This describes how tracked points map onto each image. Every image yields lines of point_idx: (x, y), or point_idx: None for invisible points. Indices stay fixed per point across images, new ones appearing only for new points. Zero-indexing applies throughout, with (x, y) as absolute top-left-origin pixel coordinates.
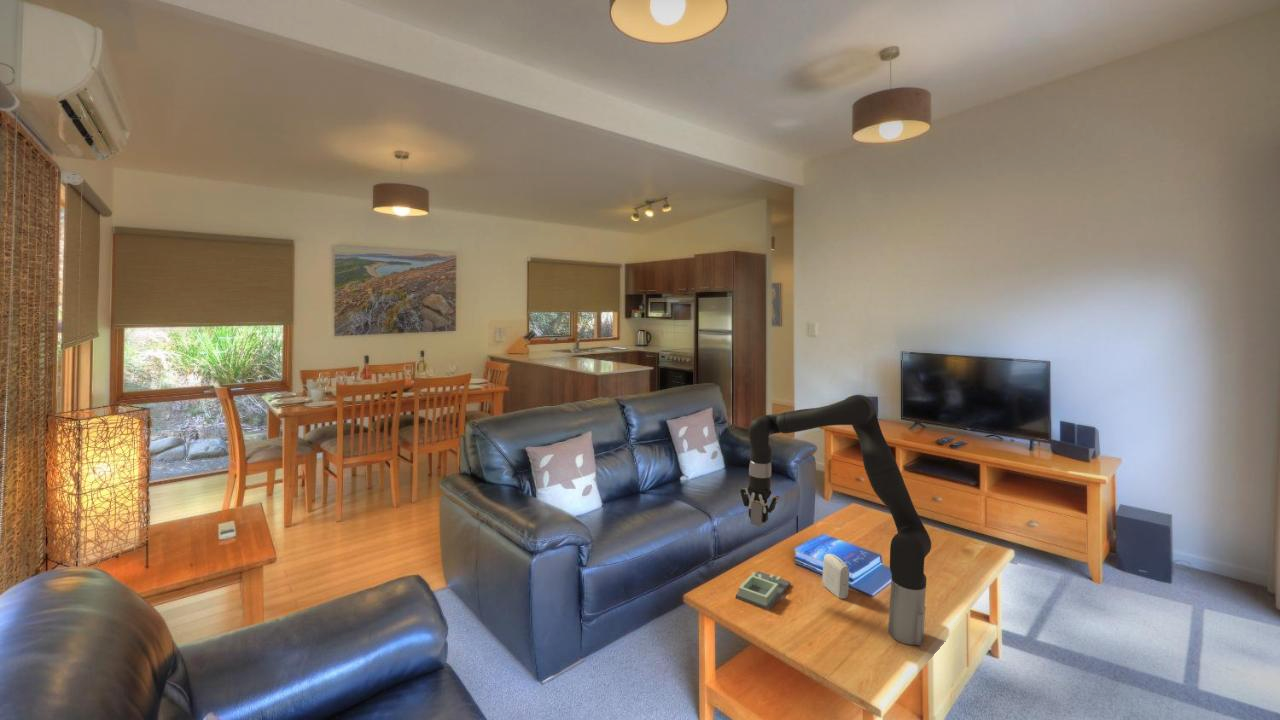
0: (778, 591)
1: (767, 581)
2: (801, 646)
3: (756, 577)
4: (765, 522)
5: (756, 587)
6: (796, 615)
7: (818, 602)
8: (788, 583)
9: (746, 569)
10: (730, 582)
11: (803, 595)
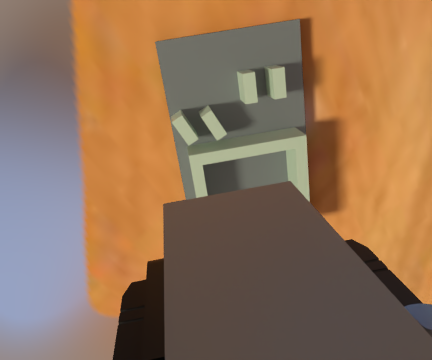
0: (294, 121)
1: (265, 150)
2: (428, 274)
3: (216, 156)
4: (293, 188)
5: None
6: (380, 177)
7: (419, 56)
8: (300, 39)
9: (93, 43)
10: (118, 176)
11: (362, 53)
